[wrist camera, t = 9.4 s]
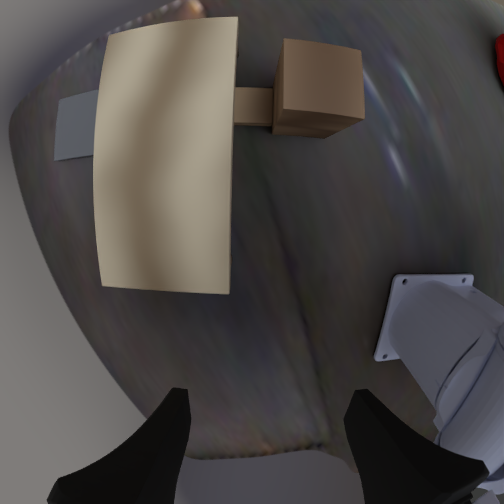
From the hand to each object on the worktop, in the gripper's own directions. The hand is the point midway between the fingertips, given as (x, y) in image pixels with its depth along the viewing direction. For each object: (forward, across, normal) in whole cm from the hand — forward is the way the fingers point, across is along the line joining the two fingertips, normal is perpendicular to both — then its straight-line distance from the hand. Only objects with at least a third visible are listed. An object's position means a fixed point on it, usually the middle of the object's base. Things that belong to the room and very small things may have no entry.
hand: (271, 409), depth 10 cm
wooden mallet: (+10, +4, -14) cm, 17 cm away
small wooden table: (+10, +6, -11) cm, 16 cm away
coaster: (+11, +14, -13) cm, 22 cm away
